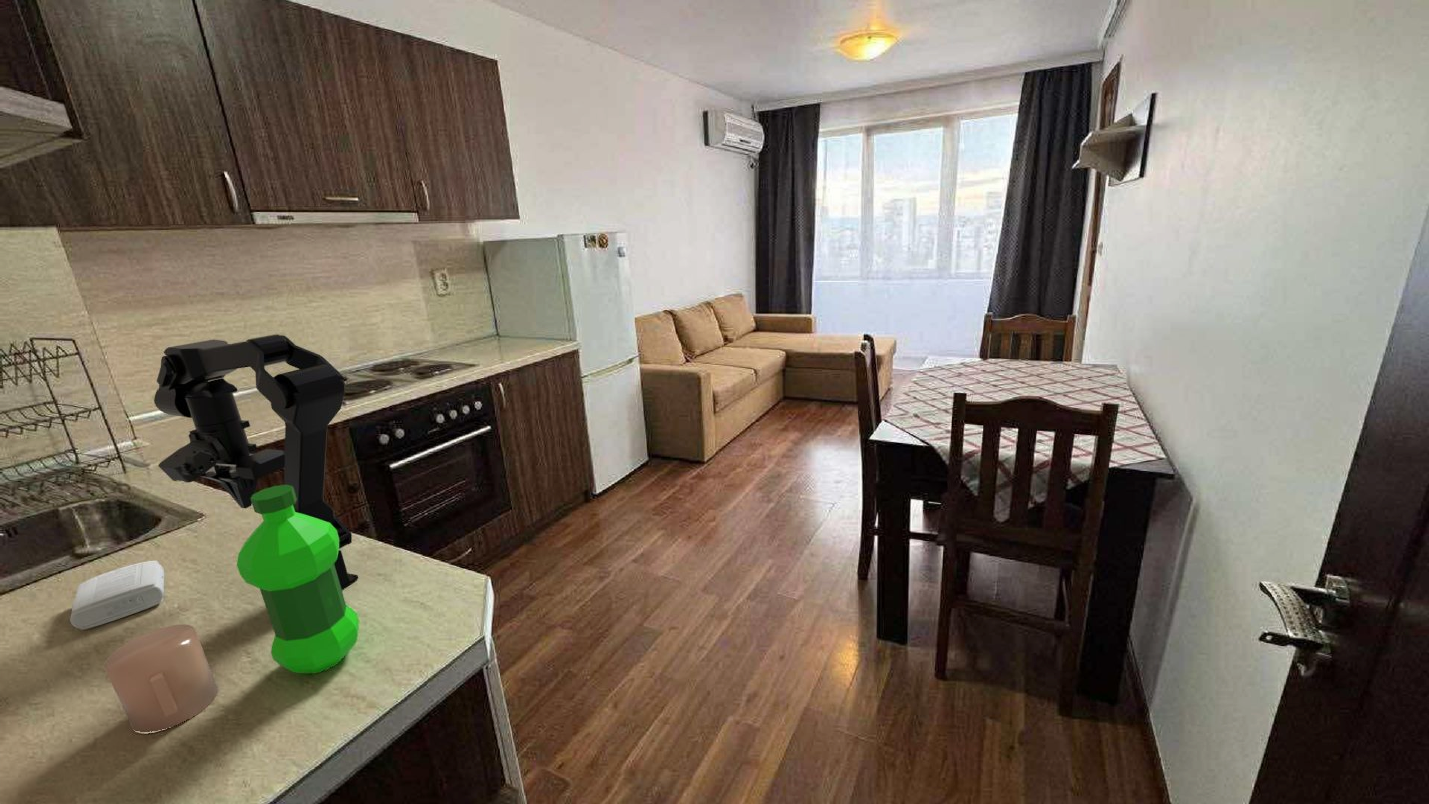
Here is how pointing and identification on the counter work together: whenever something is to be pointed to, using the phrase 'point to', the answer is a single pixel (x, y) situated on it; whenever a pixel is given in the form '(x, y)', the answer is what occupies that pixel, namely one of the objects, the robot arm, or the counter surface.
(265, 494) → the plastic bottle
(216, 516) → the counter surface
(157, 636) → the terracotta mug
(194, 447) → the robot arm
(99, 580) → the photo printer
